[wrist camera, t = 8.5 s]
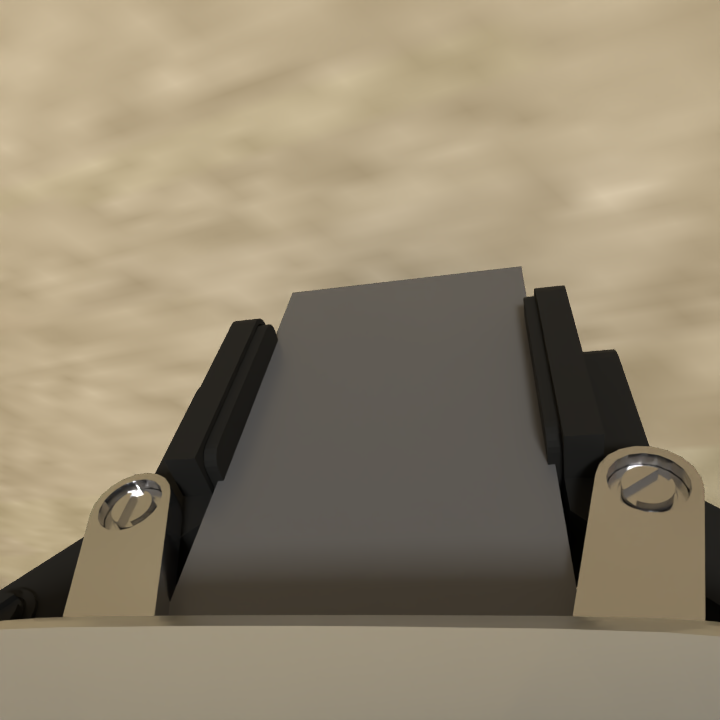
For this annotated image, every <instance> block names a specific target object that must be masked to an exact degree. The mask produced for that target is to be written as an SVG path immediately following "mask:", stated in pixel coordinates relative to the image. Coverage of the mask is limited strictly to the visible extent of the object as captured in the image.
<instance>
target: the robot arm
mask: <svg viewBox="0 0 720 720" xmlns="http://www.w3.org/2000/svg"><path fill="white" fill-rule="evenodd" d="M523 302H524V317H525V324H526V330H527V336H528V342H529V349H530V355H531V361H532V368H533V374H534V380H535V387H536V393H537V399H538V405H539V412H540V418H541V424H542V431H543V437H544V443H545V449H546V456H547V462H548V465H553V464H555V466H556V472H557V478H558V483H559V489H560V495H561V501H562V507H563V513H564V518H565V524H566V530H567V536H568V542H569V548H570V553H571V559H572V565H573V571H574V577H575V582H576V587H577V592H576V598H575V604H574V611H573V616H493V615H187V616H168V614H169V605H170V601H171V598H172V596H173V593H174V591H175V588H176V586H177V583H178V581H179V578H180V576H181V573H182V571H183V568H184V566H185V563H186V561H187V558H188V555H189V553H190V550H191V548H192V545H193V543H194V540H195V538H196V535H197V533H198V530H199V528H200V525H201V523H202V520H203V518H204V515H205V513H206V510H207V508H208V505H209V503H210V500H211V498H212V495H213V493H214V490H215V487H216V485H217V482H218V481H224V479H225V476H226V474H227V471H228V469H229V466H230V463H231V461H232V458H233V456H234V453H235V450H236V448H237V445H238V443H239V440H240V438H241V435H242V432H243V430H244V427H245V425H246V422H247V419H248V417H249V414H250V412H251V409H252V406H253V404H254V401H255V399H256V396H257V394H258V391H259V388H260V386H261V383H262V381H263V378H264V375H265V373H266V370H267V368H268V365H269V363H270V360H271V357H272V355H273V352H274V350H275V347H276V344H277V342H278V338H277V335H276V332H275V330H274V328H273V326H272V325H265V323H264V321H263V320H262V319H252V320H243V321H235V322H233V324H232V325H231V327H230V329H229V331H228V333H227V335H226V337H225V339H224V341H223V343H222V345H221V347H220V349H219V351H218V353H217V355H216V357H215V359H214V361H213V363H212V365H211V367H210V369H209V371H208V373H207V375H206V377H205V379H204V381H203V383H202V385H201V387H200V388H199V389H198V390H197V392H196V394H195V396H194V398H193V400H192V402H191V404H190V406H189V408H188V410H187V412H186V414H185V416H184V418H183V420H182V421H181V423H180V425H179V427H178V429H177V431H176V433H175V435H174V437H173V439H172V441H171V443H170V445H169V447H168V449H167V451H166V453H165V455H164V457H163V459H162V461H161V463H160V465H159V467H158V469H157V471H156V473H155V474H152V473H144V474H137V475H134V476H131V477H128V478H125V479H123V480H121V481H120V482H118V483H116V484H115V485H113V486H112V487H110V488H109V489H108V490H107V491H106V492H105V493H103V494H102V495H101V497H100V498H99V499H98V500H97V502H96V503H95V504H94V506H93V509H92V511H91V513H90V516H89V520H88V524H87V527H86V531H85V535H84V537H83V538H82V539H80V540H78V541H77V542H75V543H74V544H72V545H71V546H69V547H67V548H66V549H64V550H63V551H61V552H60V553H58V554H56V555H55V556H53V557H52V558H50V559H49V560H47V561H45V562H44V563H42V564H41V565H39V566H38V567H36V568H34V569H33V570H31V571H30V572H28V573H27V574H25V575H23V576H22V577H20V578H19V579H17V580H16V581H14V582H12V583H11V584H9V585H8V586H6V587H5V588H3V589H1V590H0V720H720V509H719V508H718V507H716V506H714V505H712V504H710V503H708V502H706V501H705V489H704V485H703V481H702V477H701V476H700V474H699V473H698V472H697V470H696V469H695V467H694V466H693V465H691V464H690V463H689V462H688V461H686V460H685V459H684V458H682V457H681V456H679V455H676V454H674V453H672V452H670V451H668V450H664V449H660V448H655V447H651V446H649V444H648V441H647V438H646V435H645V432H644V429H643V426H642V423H641V420H640V417H639V414H638V412H637V409H636V406H635V403H634V400H633V397H632V394H631V391H630V388H629V385H628V382H627V379H626V377H625V374H624V371H623V368H622V365H621V362H620V359H619V356H618V354H617V352H616V351H615V350H614V349H613V350H602V351H590V352H582V348H581V344H580V340H579V337H578V333H577V329H576V326H575V322H574V318H573V314H572V311H571V307H570V303H569V300H568V296H567V292H566V289H565V286H564V285H563V286H554V287H545V288H536V289H534V296H532V297H524V298H523Z"/></svg>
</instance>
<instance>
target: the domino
mask: <svg viewBox="0 0 720 720" xmlns="http://www.w3.org/2000/svg"><path fill="white" fill-rule="evenodd" d="M524 297H526V291H525V286H524V280H523V274H522V268H521V267H512V268H503V269H495V270H486V271H477V272H469V273H460V274H451V275H443V276H434V277H425V278H417V279H408V280H399V281H391V282H382V283H373V284H365V285H356V286H348V287H339V288H330V289H322V290H313V291H304V292H296V293H293V294H292V296H291V299H290V301H289V304H288V306H287V309H286V311H285V314H284V316H283V319H282V321H281V324H280V326H279V329H278V331H277V334H276V335H277V338H278V342H277V344H276V347H275V350H274V352H273V355H272V357H271V360H270V363H269V365H268V368H267V370H266V373H265V375H264V378H263V381H262V383H261V386H260V388H259V391H258V394H257V396H256V399H255V401H254V404H253V406H252V409H251V412H250V414H249V417H248V419H247V422H246V425H245V427H244V430H243V432H242V435H241V438H240V440H239V443H238V445H237V448H236V450H235V453H234V456H233V458H232V461H231V463H230V466H229V469H228V471H227V474H226V476H225V479H224V481H218V482H217V485H216V487H215V490H214V493H213V495H212V498H211V500H210V503H209V505H208V508H207V510H206V513H205V515H204V518H203V520H202V523H201V525H200V528H199V530H198V533H197V535H196V538H195V540H194V543H193V545H192V548H191V550H190V553H189V555H188V558H187V561H186V563H185V566H184V568H183V571H182V573H181V576H180V578H179V581H178V583H177V586H176V588H175V591H174V593H173V596H172V598H171V601H170V605H169V614H168V616H187V615H493V616H573V611H574V604H575V598H576V592H577V588H576V582H575V577H574V571H573V565H572V559H571V553H570V548H569V542H568V536H567V530H566V524H565V518H564V513H563V507H562V501H561V495H560V489H559V483H558V478H557V472H556V466H555V464H553V465H548V462H547V456H546V449H545V443H544V437H543V431H542V424H541V418H540V412H539V405H538V399H537V393H536V387H535V380H534V374H533V368H532V361H531V355H530V349H529V342H528V336H527V330H526V324H525V317H524V302H523V298H524Z"/></svg>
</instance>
